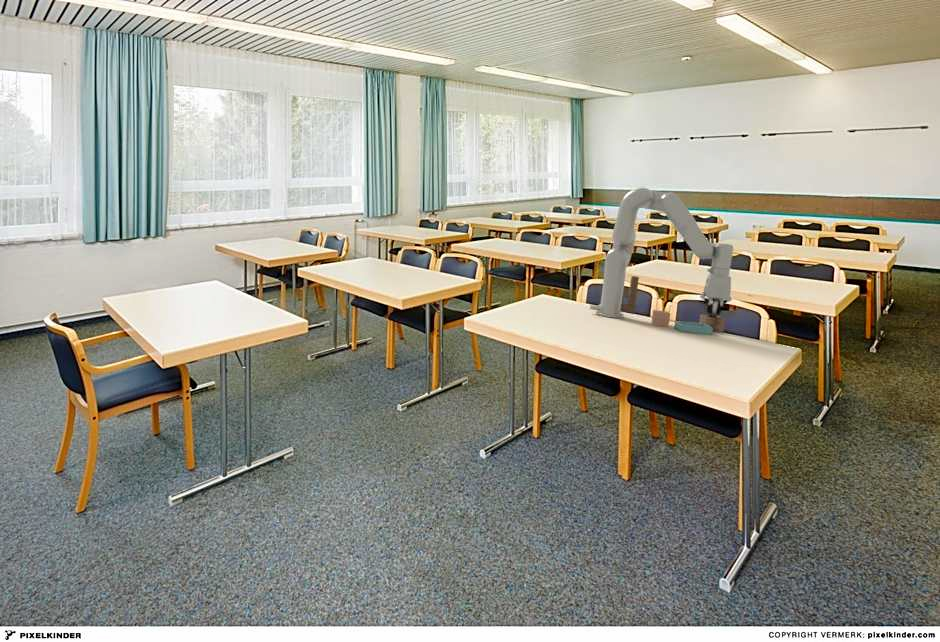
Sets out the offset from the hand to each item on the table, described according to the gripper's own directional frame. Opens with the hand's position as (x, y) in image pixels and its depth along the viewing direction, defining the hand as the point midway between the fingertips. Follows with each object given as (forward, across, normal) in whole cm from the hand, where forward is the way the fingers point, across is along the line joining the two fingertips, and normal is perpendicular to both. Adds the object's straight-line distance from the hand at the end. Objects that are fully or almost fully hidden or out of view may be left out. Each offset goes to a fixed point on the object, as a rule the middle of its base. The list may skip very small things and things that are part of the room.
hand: (713, 313), depth 255 cm
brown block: (+7, 0, 0) cm, 7 cm away
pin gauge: (+3, 0, 0) cm, 3 cm away
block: (+7, -22, 0) cm, 23 cm away
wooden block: (+8, -32, +34) cm, 47 cm away
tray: (+7, -10, -8) cm, 15 cm away
